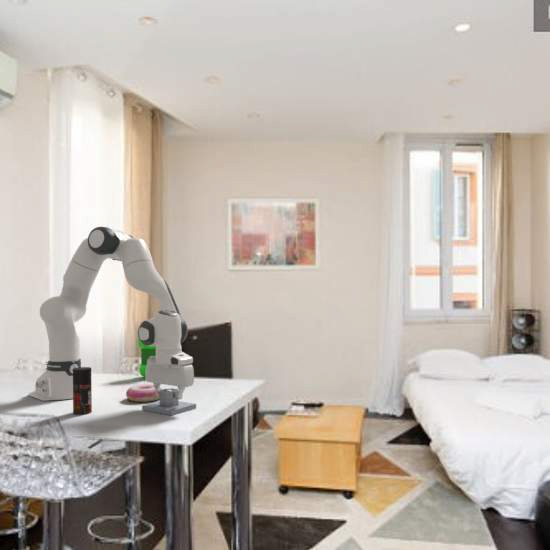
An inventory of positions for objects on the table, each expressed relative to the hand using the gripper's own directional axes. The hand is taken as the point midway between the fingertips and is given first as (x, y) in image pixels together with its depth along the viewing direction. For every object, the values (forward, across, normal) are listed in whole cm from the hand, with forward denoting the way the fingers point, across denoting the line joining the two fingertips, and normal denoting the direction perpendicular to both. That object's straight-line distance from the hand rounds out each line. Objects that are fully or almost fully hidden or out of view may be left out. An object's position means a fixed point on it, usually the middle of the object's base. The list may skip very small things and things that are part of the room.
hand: (169, 397), depth 190 cm
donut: (+4, -19, +6) cm, 21 cm away
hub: (+3, 0, 0) cm, 3 cm away
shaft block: (+4, 0, 0) cm, 4 cm away
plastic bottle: (+4, -51, +40) cm, 65 cm away
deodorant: (+4, -22, -19) cm, 29 cm away
